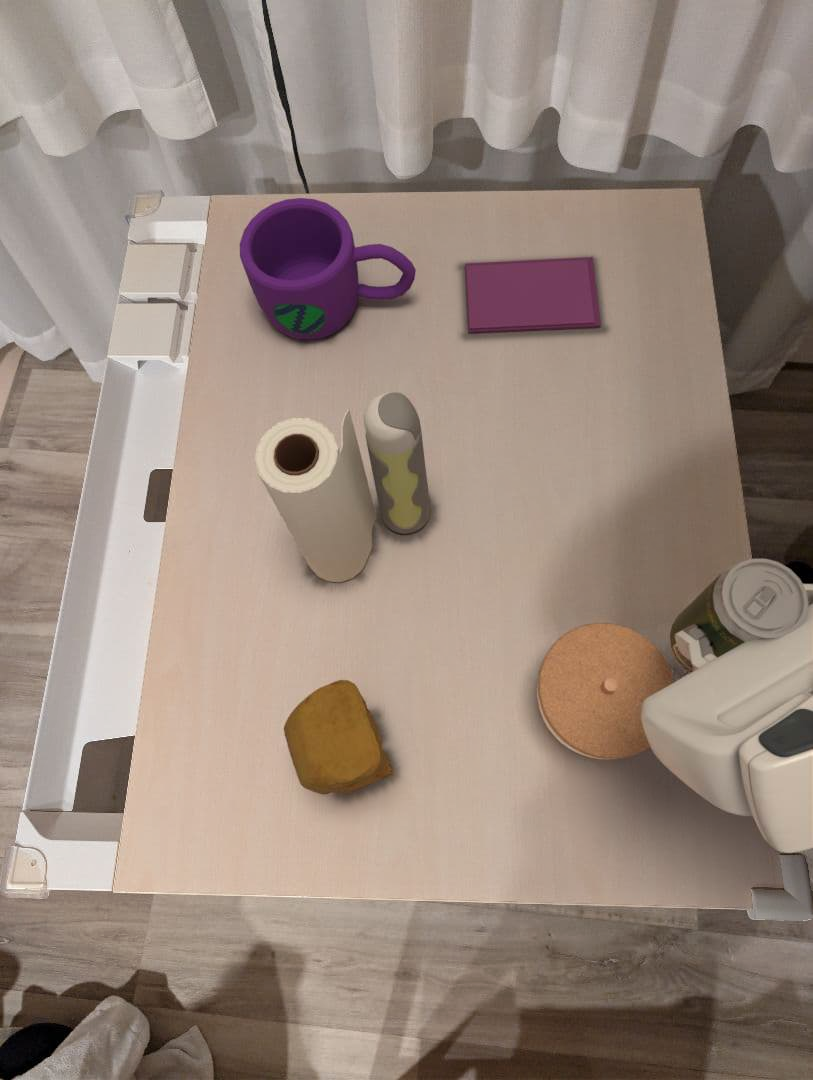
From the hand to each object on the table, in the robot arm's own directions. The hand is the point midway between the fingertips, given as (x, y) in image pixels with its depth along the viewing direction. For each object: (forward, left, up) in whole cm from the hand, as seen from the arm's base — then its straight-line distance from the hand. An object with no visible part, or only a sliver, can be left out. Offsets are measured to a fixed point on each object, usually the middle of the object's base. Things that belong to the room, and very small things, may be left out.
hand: (726, 613), depth 51 cm
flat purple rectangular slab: (+8, -41, -19) cm, 46 cm away
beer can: (0, +1, -7) cm, 7 cm away
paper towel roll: (+28, -12, -19) cm, 36 cm away
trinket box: (+6, +3, -19) cm, 20 cm away
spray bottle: (+22, -16, -19) cm, 34 cm away
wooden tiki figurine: (+27, +7, -19) cm, 34 cm away
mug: (+29, -41, -19) cm, 54 cm away
